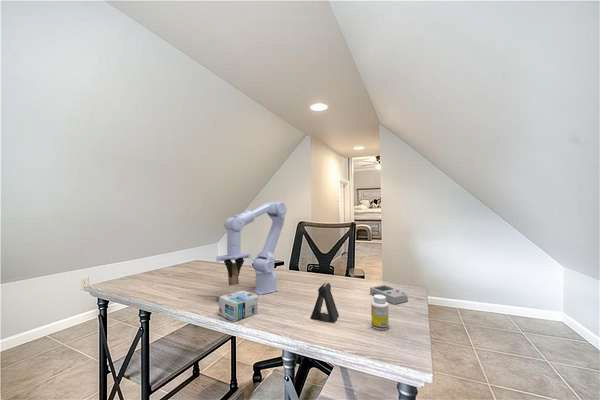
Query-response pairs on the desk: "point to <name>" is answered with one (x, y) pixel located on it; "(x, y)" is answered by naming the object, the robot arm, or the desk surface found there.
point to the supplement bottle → (380, 312)
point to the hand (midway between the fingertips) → (233, 276)
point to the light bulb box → (238, 305)
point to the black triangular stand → (330, 305)
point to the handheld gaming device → (389, 294)
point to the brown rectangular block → (234, 275)
